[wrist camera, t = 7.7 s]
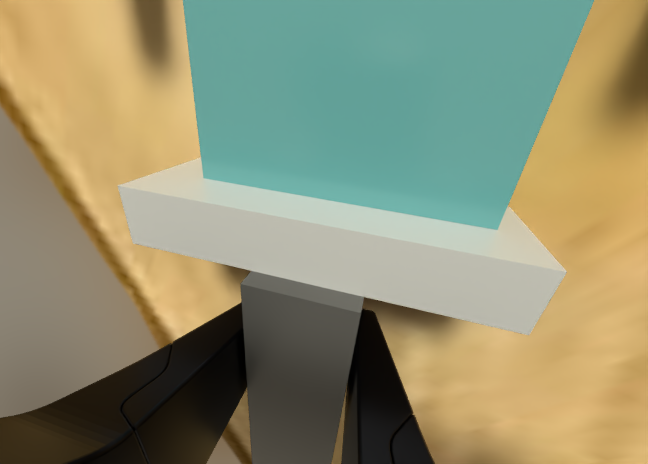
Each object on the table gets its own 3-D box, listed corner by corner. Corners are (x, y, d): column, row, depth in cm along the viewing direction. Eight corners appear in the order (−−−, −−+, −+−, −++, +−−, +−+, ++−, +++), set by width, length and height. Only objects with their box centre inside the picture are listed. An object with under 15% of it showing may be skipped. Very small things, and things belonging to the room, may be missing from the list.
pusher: (419, 417, 12) (425, 530, 9) (224, 359, 13) (171, 437, 10) (509, 207, 7) (583, 290, 4) (200, 157, 9) (96, 192, 6)
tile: (473, 192, 8) (497, 230, 6) (249, 157, 9) (203, 178, 7) (607, -191, 5) (766, -412, 3) (238, -166, 6) (147, -304, 4)
